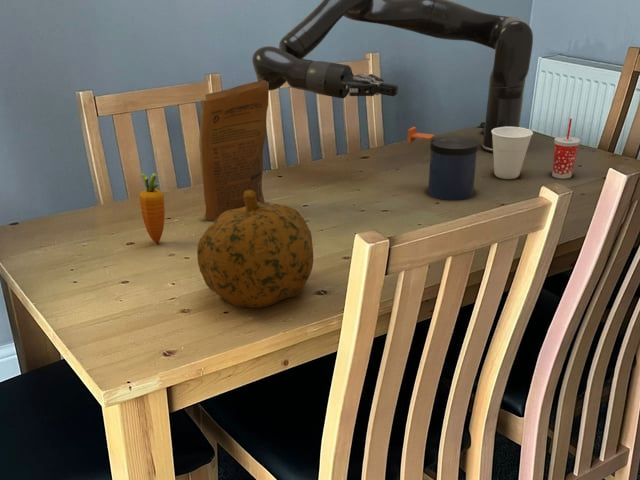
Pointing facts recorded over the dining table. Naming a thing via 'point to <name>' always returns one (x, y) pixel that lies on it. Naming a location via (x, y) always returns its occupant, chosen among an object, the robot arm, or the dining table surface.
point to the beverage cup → (564, 155)
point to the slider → (417, 135)
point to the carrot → (152, 208)
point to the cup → (509, 150)
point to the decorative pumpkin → (256, 253)
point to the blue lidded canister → (452, 167)
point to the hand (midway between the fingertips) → (396, 91)
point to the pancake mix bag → (232, 146)
